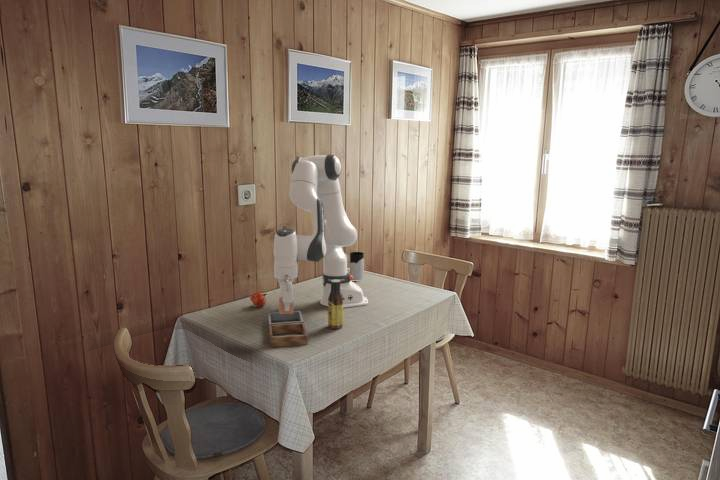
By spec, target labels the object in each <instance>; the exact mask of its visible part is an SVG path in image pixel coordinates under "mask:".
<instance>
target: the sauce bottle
mask: <svg viewBox="0 0 720 480" xmlns="http://www.w3.org/2000/svg"><path fill="white" fill-rule="evenodd" d="M340 284H341V281H340V280H338V279H334V280H331V292H330V295H329V298H328V306H327V324H328V327H329V328H330V329H332V330H333V329H334V330H336V329H337V330H338V329H341V328H343V326H344V308H343V295H342V294H341V292H340Z"/></svg>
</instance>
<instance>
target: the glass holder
mask: <svg viewBox="0 0 720 480" xmlns="http://www.w3.org/2000/svg"><path fill="white" fill-rule="evenodd" d="M345 255H346V257H347V263H349V269H347V273H349V274H351V275H352V276H353V280H363V279H365V258H364V257H365V255H364V252H362V251H361V252H360V251H352V252H349V255H348V254H347V253H345Z"/></svg>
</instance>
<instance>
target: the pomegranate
mask: <svg viewBox="0 0 720 480" xmlns="http://www.w3.org/2000/svg"><path fill="white" fill-rule="evenodd" d="M267 295H268V294H267V293H262V292H254V293H252V294H251V296H250V298H249V299H250V301H251V302H252V304H251V305H250V306H249V308H251V307H253V306H255V307H256V308H257V309H261V308H264V306H265V305H266V302H267V298H266V296H267Z"/></svg>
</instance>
